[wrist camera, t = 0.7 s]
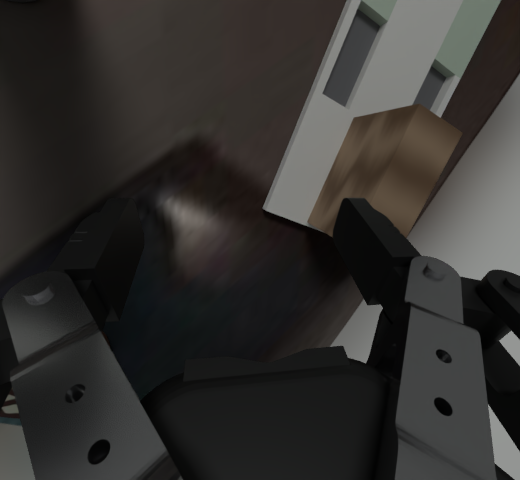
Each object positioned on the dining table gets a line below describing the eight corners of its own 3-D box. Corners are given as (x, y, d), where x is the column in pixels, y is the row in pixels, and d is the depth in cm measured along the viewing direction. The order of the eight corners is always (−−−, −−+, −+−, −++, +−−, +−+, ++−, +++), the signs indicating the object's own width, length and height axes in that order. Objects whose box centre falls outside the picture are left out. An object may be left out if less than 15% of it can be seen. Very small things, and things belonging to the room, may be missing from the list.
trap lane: (365, 247, 40) (376, 252, 38) (262, 208, 34) (267, 212, 32) (512, -43, 32) (537, -58, 30) (412, -161, 26) (433, -192, 24)
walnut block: (342, 235, 37) (392, 262, 28) (307, 222, 35) (348, 246, 26) (389, 138, 34) (462, 133, 25) (353, 117, 32) (419, 103, 23)
